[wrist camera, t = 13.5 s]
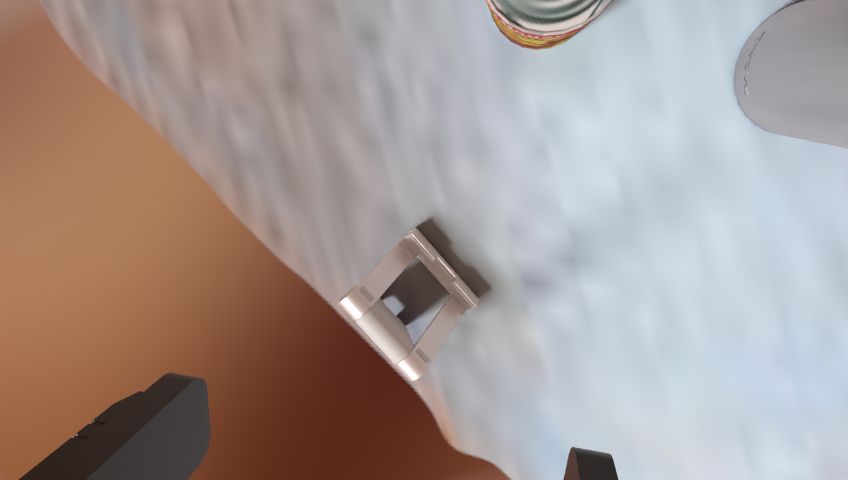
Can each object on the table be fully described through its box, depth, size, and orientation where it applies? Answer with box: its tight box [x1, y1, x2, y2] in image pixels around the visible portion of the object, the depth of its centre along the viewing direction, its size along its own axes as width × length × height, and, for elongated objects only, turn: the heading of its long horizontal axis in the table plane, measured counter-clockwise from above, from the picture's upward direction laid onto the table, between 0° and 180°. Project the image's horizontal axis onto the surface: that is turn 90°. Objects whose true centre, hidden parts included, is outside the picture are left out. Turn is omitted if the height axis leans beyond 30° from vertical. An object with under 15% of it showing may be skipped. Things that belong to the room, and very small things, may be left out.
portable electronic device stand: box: [338, 228, 479, 381], centre depth 42 cm, size 9×8×8 cm
